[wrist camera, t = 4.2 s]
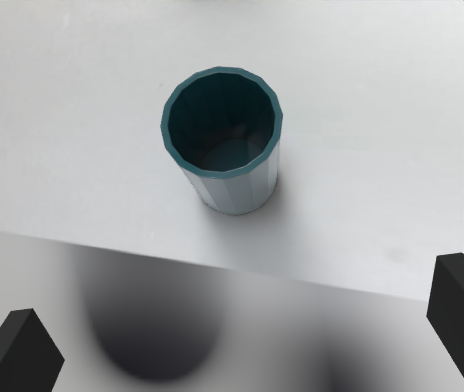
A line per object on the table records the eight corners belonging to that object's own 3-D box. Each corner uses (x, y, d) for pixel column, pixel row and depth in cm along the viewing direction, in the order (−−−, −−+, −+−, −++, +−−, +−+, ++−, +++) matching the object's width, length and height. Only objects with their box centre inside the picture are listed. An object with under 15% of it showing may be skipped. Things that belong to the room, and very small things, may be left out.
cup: (189, 209, 32) (150, 171, 21) (202, 133, 34) (172, 62, 23) (271, 219, 31) (274, 185, 20) (280, 140, 33) (288, 70, 22)
